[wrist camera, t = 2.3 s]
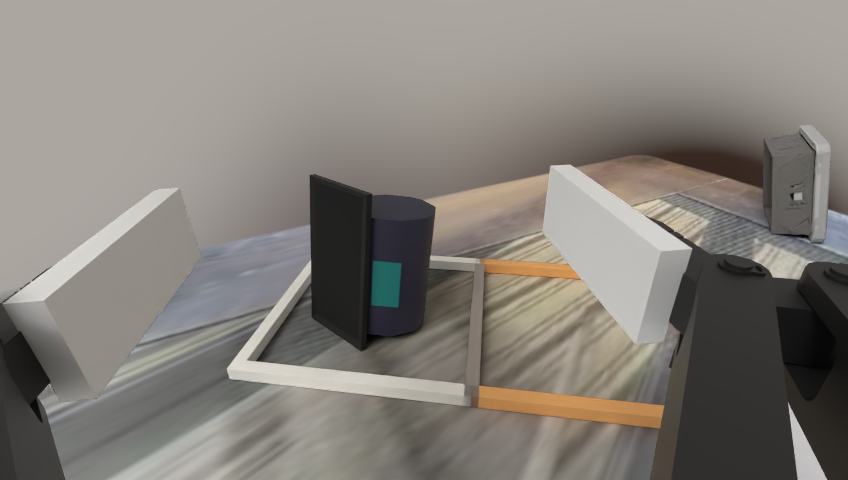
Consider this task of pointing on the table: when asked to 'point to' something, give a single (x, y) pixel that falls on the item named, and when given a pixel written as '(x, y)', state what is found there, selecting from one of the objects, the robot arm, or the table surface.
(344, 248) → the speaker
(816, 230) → the electrical switch
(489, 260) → the rectangular frame
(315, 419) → the table surface
